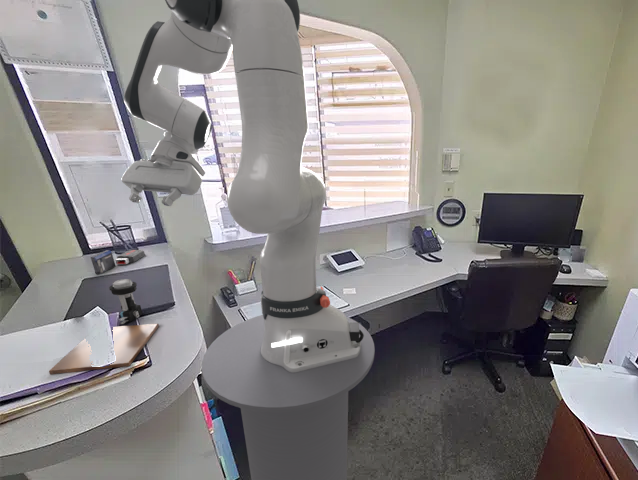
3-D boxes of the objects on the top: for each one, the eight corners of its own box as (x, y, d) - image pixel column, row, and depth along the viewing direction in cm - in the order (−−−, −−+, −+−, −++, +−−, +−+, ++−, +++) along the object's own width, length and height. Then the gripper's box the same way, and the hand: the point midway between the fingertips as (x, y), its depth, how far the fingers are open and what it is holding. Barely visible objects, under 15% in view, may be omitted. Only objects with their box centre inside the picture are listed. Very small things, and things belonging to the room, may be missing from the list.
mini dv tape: (100, 273, 105) (95, 257, 103) (95, 274, 105) (90, 257, 102) (115, 265, 112) (111, 250, 110) (110, 266, 112) (106, 250, 110)
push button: (133, 325, 76) (123, 288, 72) (110, 325, 75) (98, 288, 72) (149, 312, 82) (140, 277, 78) (127, 313, 81) (117, 277, 78)
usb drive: (145, 255, 125) (143, 248, 124) (129, 264, 114) (127, 257, 113) (130, 255, 124) (128, 248, 123) (113, 265, 113) (111, 257, 112)
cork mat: (159, 326, 76) (158, 323, 76) (129, 366, 62) (128, 362, 62) (96, 331, 73) (95, 328, 73) (49, 374, 59) (48, 371, 58)
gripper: (129, 150, 83) (104, 191, 78) (197, 155, 81) (176, 198, 76) (146, 167, 89) (124, 206, 84) (211, 172, 87) (192, 213, 81)
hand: (149, 202), depth 80 cm, fingers open, 8 cm apart
